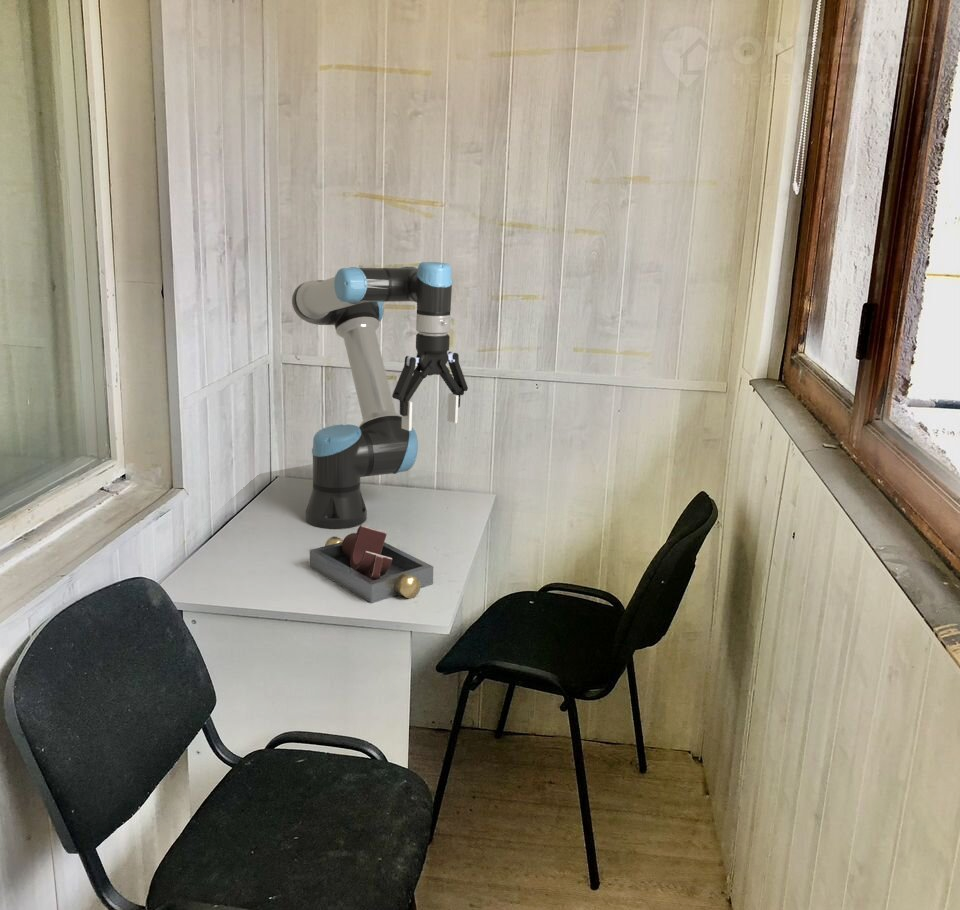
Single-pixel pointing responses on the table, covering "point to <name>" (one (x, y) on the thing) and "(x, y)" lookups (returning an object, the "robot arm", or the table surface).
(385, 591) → the cradle
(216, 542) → the table surface
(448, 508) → the table surface
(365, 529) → the bracket
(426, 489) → the table surface
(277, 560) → the table surface
